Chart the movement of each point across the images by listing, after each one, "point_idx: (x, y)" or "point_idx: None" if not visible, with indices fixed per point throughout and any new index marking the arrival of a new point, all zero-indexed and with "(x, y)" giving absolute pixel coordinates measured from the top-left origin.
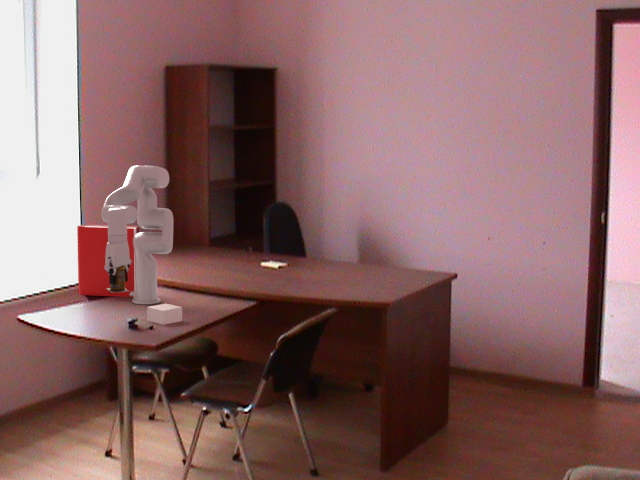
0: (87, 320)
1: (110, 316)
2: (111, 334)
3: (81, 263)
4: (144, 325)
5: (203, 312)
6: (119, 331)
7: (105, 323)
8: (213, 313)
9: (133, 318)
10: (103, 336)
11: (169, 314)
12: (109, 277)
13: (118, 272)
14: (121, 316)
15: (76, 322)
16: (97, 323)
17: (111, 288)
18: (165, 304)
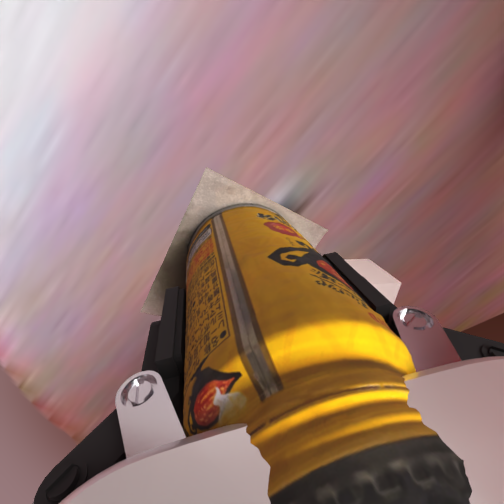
0: (126, 54)
1: (266, 81)
2: (73, 337)
3: None
4: None
5: (461, 281)
6: (123, 320)
7: (158, 184)
8: (457, 305)
9: (295, 195)
10: (31, 344)
11: None
12: (159, 331)
13: None
14: (295, 126)
15: (46, 41)
16: (130, 156)
17: (186, 265)
18: (385, 293)
